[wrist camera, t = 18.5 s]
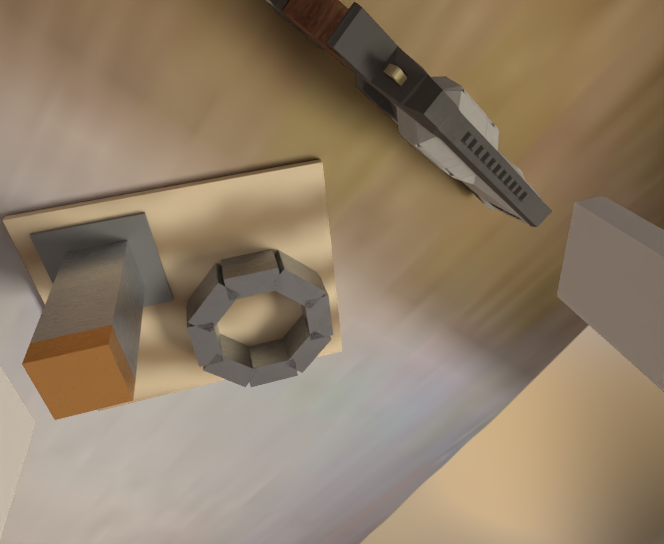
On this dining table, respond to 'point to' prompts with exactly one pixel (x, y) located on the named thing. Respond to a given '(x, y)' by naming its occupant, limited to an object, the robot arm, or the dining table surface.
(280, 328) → the board
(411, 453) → the dining table surface
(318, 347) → the grey octagonal ring
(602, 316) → the robot arm
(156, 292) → the pad
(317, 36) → the gun
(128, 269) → the block
